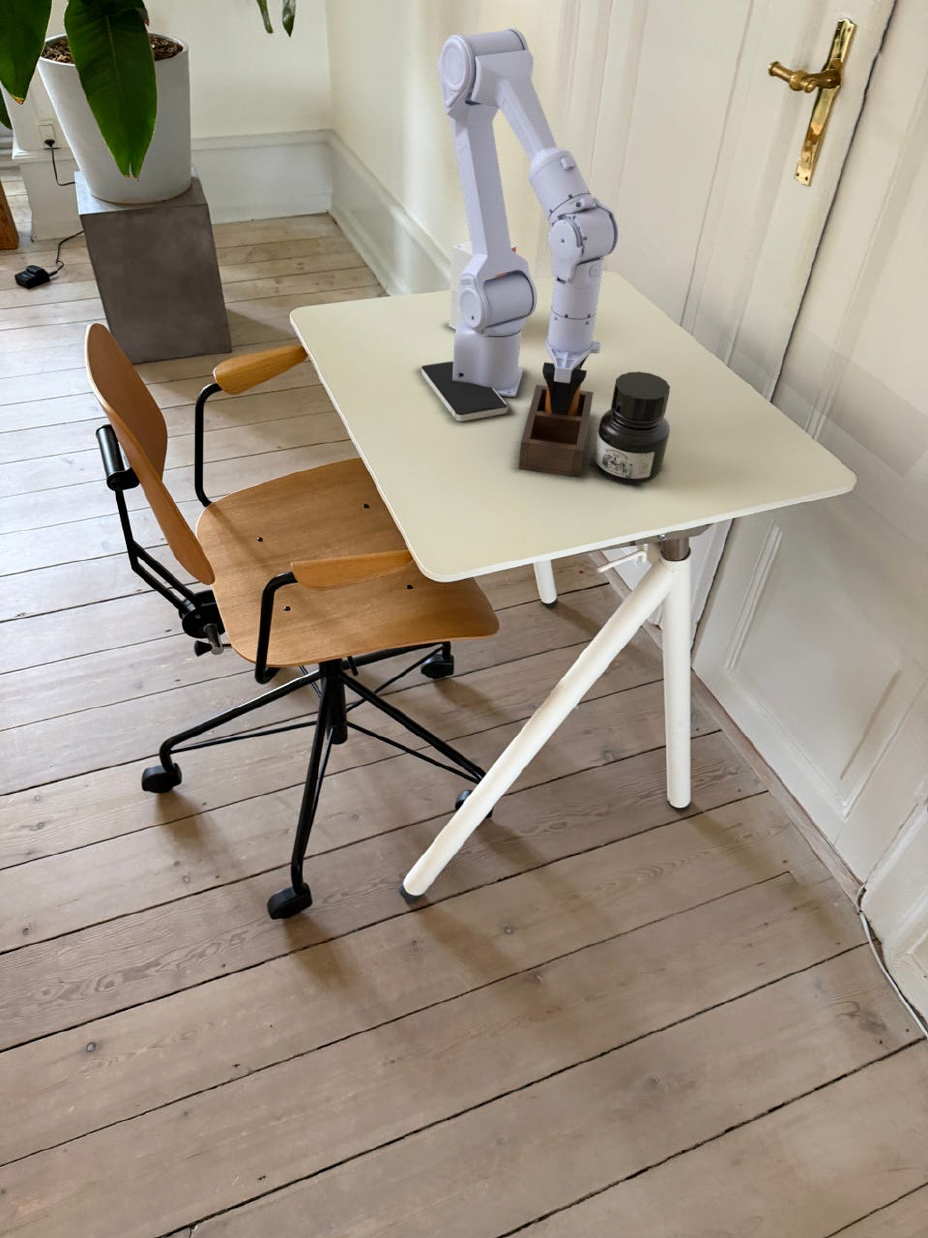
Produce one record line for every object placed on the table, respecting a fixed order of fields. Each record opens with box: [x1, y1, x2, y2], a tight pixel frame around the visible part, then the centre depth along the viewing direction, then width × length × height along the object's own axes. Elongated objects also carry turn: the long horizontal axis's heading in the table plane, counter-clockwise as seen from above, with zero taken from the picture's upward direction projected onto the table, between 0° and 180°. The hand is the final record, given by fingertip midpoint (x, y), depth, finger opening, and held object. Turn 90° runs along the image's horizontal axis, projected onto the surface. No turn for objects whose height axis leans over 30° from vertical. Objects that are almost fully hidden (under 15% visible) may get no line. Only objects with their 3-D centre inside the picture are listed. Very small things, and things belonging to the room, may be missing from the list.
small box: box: [448, 239, 517, 331], centre depth 146 cm, size 8×6×13 cm
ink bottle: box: [593, 371, 671, 485], centre depth 118 cm, size 10×9×12 cm
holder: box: [518, 384, 594, 478], centre depth 125 cm, size 8×15×4 cm, turn 169°
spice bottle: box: [545, 363, 582, 416], centre depth 125 cm, size 4×4×10 cm
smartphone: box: [421, 360, 509, 422], centre depth 134 cm, size 8×1×15 cm
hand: (561, 404), depth 126 cm, fingers closed on spice bottle, 4 cm apart
